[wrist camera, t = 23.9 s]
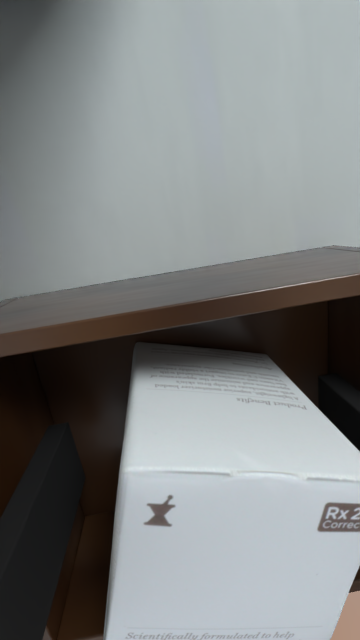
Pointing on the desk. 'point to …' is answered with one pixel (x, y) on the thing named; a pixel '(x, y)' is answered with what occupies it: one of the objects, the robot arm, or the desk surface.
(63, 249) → the desk surface
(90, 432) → the dark brown wooden box
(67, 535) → the robot arm
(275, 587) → the product carton
